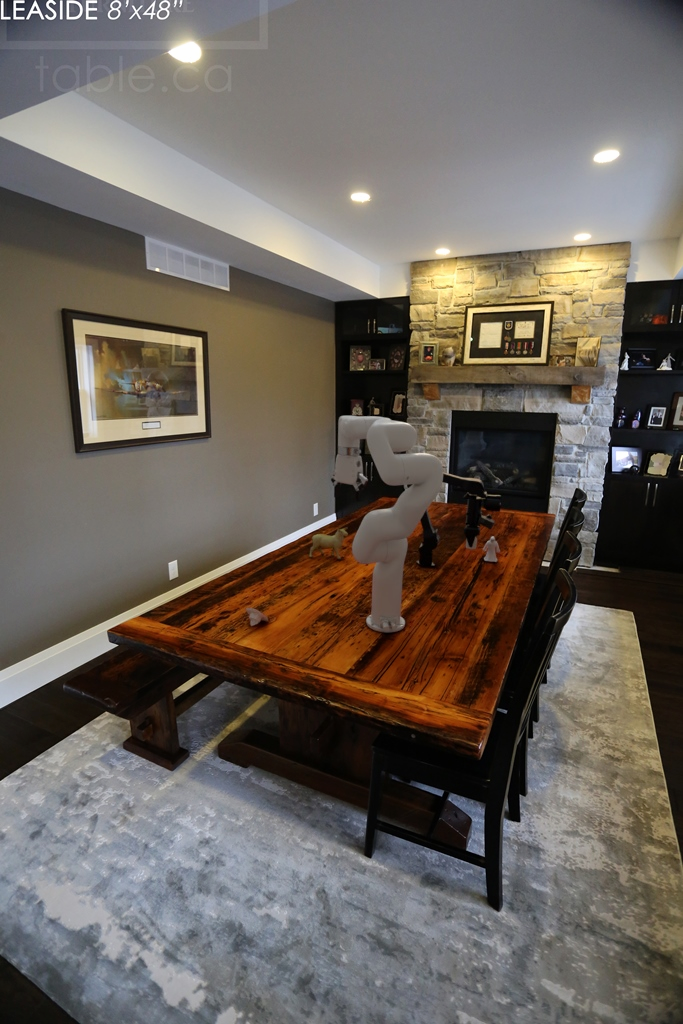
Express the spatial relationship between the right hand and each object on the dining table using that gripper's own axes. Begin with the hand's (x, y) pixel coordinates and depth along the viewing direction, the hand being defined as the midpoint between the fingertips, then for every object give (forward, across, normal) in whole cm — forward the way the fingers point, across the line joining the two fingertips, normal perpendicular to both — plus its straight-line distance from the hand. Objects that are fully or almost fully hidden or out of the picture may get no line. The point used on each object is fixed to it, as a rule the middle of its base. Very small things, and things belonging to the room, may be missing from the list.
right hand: (470, 545), depth 211 cm
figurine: (+11, +15, -9) cm, 20 cm away
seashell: (+11, -74, +64) cm, 98 cm away
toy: (+11, -6, +61) cm, 62 cm away
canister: (+1, 0, 0) cm, 1 cm away
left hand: (-25, -40, +44) cm, 64 cm away
